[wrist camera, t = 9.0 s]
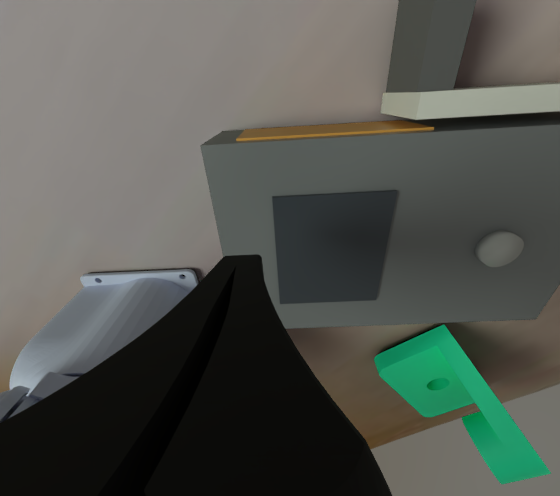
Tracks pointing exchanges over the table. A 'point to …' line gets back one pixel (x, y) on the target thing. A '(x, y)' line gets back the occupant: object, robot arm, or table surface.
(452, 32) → the side door
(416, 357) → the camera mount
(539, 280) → the camera body
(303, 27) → the table surface
